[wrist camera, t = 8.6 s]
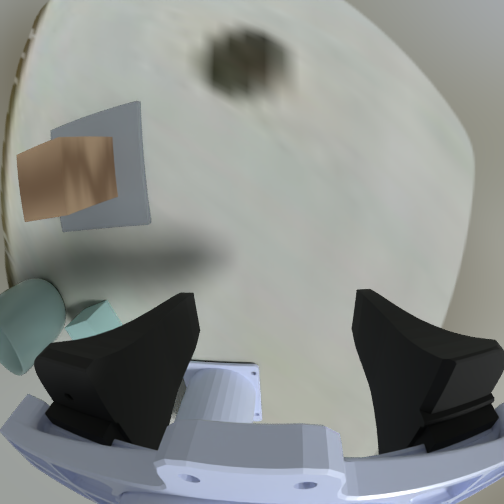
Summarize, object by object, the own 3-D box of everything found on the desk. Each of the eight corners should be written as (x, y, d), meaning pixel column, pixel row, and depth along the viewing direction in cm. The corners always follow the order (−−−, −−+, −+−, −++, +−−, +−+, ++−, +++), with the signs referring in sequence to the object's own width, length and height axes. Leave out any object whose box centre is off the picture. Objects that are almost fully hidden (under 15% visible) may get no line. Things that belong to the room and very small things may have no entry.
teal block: (127, 331, 26) (110, 354, 22) (104, 338, 27) (86, 359, 23) (107, 299, 25) (86, 320, 21) (84, 308, 26) (64, 327, 22)
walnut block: (118, 196, 20) (67, 215, 14) (75, 203, 21) (24, 222, 15) (112, 136, 19) (58, 136, 13) (69, 149, 19) (16, 155, 13)
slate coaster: (151, 222, 22) (148, 224, 21) (66, 230, 23) (62, 232, 22) (140, 101, 18) (137, 100, 18) (54, 130, 19) (50, 130, 19)
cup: (61, 267, 24) (-3, 313, 15) (83, 330, 27) (35, 384, 17) (24, 269, 25) (-31, 306, 16) (44, 324, 28) (-1, 367, 18)
